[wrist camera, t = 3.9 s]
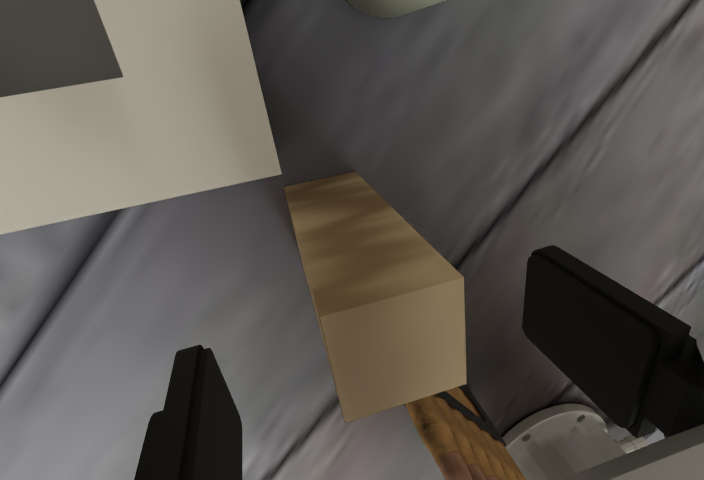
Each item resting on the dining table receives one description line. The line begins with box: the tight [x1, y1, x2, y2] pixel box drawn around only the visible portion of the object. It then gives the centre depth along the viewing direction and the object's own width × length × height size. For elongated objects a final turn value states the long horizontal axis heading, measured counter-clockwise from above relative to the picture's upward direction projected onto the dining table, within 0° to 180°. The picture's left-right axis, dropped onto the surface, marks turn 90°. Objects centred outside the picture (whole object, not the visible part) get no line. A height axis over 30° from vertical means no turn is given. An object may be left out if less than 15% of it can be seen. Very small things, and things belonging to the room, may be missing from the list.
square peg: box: [284, 172, 467, 423], centre depth 16 cm, size 4×4×12 cm
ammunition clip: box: [403, 385, 526, 480], centre depth 23 cm, size 11×2×12 cm, turn 43°
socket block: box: [0, 0, 282, 235], centre depth 13 cm, size 14×14×5 cm
